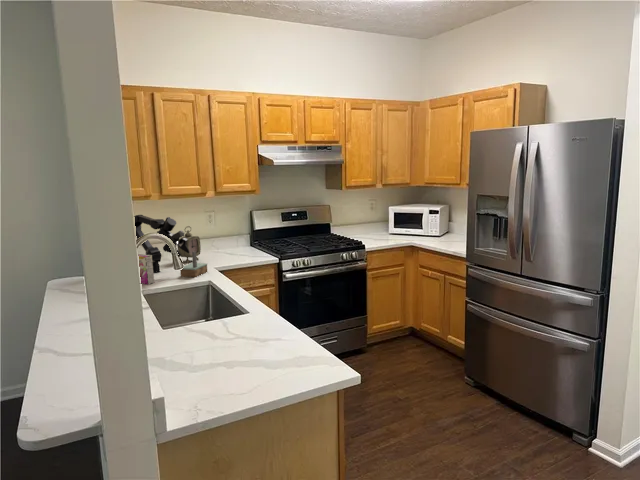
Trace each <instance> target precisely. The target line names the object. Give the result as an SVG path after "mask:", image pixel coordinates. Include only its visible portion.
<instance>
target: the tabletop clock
mask: <svg viewBox="0 0 640 480" xmlns="http://www.w3.org/2000/svg"><path fill="white" fill-rule="evenodd" d="M188 228H190V230H187V231H186V229H188ZM191 231H192V227H191V226H189V225H188V226H185V227H184V236H182V237H180V239H181V238H187V240H188V241H187V247H188V249H189V253H187V252H185V251H184V250H182V249H180V247H178V246H177V250H178V251H179V253H180V254H181V256H179V257H181V258H186V260H185V261H186V263H187V264H190V260H189V259H190V258H192V252H196V259H197V261H199V259H200V257H198V256H199V255H200V254H201V250H202V249H201V239H200V237H199V236H198V235H195V236H194V235H193V234H192V233H191ZM180 239H179V240H180ZM179 240H178V241H179Z"/></svg>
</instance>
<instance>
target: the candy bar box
mask: <svg viewBox="0 0 640 480" xmlns="http://www.w3.org/2000/svg"><path fill="white" fill-rule="evenodd" d="M137 254H138V256H139V267H140V277H141V283H143V285H152V284H155V276H154V275H155V273H153V261H152V255H146V254H144V253H143V254H142V253H137ZM141 283H140V284H141ZM151 283H152V284H151Z"/></svg>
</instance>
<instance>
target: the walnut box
mask: <svg viewBox="0 0 640 480" xmlns="http://www.w3.org/2000/svg"><path fill="white" fill-rule="evenodd" d="M179 272H180V277H181V278H194V277H196V278H198V277H200V276H202V275H204V274H207V273H208V264H207V265H206V266H203V267H201V268H199V269H196V270H184V269H182V270H180V269H179ZM206 272H207V273H206ZM201 274H202V275H201ZM199 275H200V276H199ZM197 276H198V277H197Z"/></svg>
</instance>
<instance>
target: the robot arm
mask: <svg viewBox="0 0 640 480" xmlns="http://www.w3.org/2000/svg"><path fill="white" fill-rule="evenodd" d="M133 217H135V226H136V236H137V238H136V239H137V240H138V238H139V237H141V236H143V235H145V233H144V232H143V230H142V224H145V225H148V226H150V228H152V229H153V230H158V231H156V234H157V233H159V234H163V235H165V236H167V237H168V238H170V239H171V240H172V241H173V243H174V244H175V247H177V248H178V247H180V249H182V250H184V251H185V252H187V253H189V249H188V247H187V241H188V240H187V238H181V237H184V236H185V231H183V230H182V229H181V230H179V231H178V232H176V233H172V231H173V229H175V227H176V225H177V221H176V220H175V219H173V218H171V217H169V216H167V217H166V218H165V219H164V218H152V217H149V216H146V215H143V214H136V215H134V216H133ZM136 236H135V237H136ZM180 238H181V239H180ZM179 239H180V240H179ZM178 240H179V241H178ZM141 247H142V248H143V249H144V251H145V255H152V261H153V273H154V274H156V273H161V268H160V267H161V266H160V264H159V263H160V262H161V261H162V253H161V251H160V249H159V247H157V246H155V247H154V246H153V245H152V244H151V242H150V240H149V239H148V240H147V241H146V242H144V243H143V244H142V245H141ZM162 250H163V251H164V252H167V253H170V254H172V253H171V250H170V248H169V246H168V245H167V244H166V243H165V244H164V246H162ZM177 252H178V254H179V256H178V257H180V256H181V254H180V253H179V251H178V249H177Z"/></svg>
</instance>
